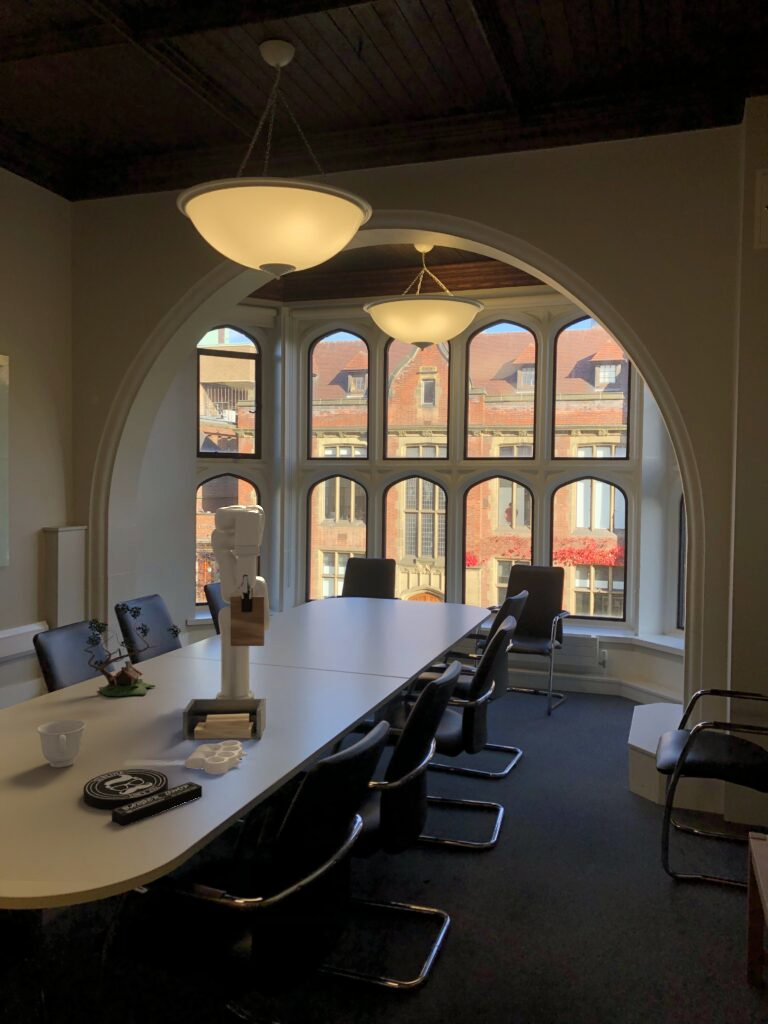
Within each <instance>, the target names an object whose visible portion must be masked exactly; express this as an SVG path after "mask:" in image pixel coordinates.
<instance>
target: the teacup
mask: <svg viewBox="0 0 768 1024" xmlns="http://www.w3.org/2000/svg"><path fill="white" fill-rule="evenodd" d="M86 726H87V724H86V723H85V722H84V721H83V720H78V719H59V720H54V721H52V720H51V721H48V722H45V723H43V724H41V725H39V726H38V727H37V728H36V732H37V733H38V734H39V737H40V746H41V751H42V754H43V757H44V759H46V760H47V761H48V762H50V764H49V765H50V766H51V767H52V768H65V767H69V766H71V765H73V764H74V763H75V762H74V760H75V758H76V757H78V755H79V754H80V751H81V748H82V739H83V734H84V729H85V727H86Z"/></svg>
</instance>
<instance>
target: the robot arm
mask: <svg viewBox="0 0 768 1024" xmlns="http://www.w3.org/2000/svg"><path fill="white" fill-rule="evenodd" d="M213 522H214V527H215V528H214V529H213V530H212V532H211V533H210V543H211V549H212V553H213V555H214V558H215V561H216V563H217V565H218V571H219V582H220V583H219V584H220V596H221V599H222V601H223V602H224V603H226V604H230V605H228V606H224V607H223V608H221V609H220V610H219V612H218V616H217V617H218V620H217V621H218V627H219V634H220V679H221V680H220V691H219V692H218V693H216V699H254V697H255V693H254V691H252V690H250V646H231V596H242V612H252V599H251V596H264V633H265V632H267V631H268V630H269V628H270V627H271V612H270V611H271V610H270V600H269V589H268V584H267V582H266V580H265V578H264V577H262V576H260V575H259V576H258V575H257V557H259V556H261V545H262V543H263V536H264V532H265V523H266V514H265V511H264V509H263V508H262V506H260V505H258V504H231V505H228V506H226V507H219V508H217V509H216V510H215V514H214V521H213ZM232 551H234V552H232Z"/></svg>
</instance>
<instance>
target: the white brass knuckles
mask: <svg viewBox="0 0 768 1024" xmlns="http://www.w3.org/2000/svg"><path fill="white" fill-rule="evenodd" d="M242 745H243V744H242V742H241V741H239V740H235V739H231V740H223V741H221V742H218V743H205V744H201V745H199V746H198V747H197V748H196V750H194V752H192V753H191V754H190V755H189V757H187V759H186V760H184V762H183V763H184V764H183V766H184V767H185V768H186V769H188V768H203V769H205V770H204V772H205V771H206V772H207V773H210V774H209V775H211V774H219V775H223V774H222V773H224V774H226V773H225V772H227V773H228V771H229V770H231V769H233V768H232V767H235V766H236V765H238V764H241V763H243V758H242V757H244V756H248V753H246V752H245V751H243V746H242ZM240 760H242V761H240ZM238 766H239V765H238ZM236 767H237V766H236ZM236 767H235V768H236ZM230 768H231V769H230ZM203 769H202V770H203ZM228 769H229V770H228ZM206 772H205V773H206ZM207 773H206V774H207ZM220 773H221V774H220Z"/></svg>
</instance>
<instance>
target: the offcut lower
mask: <svg viewBox="0 0 768 1024" xmlns="http://www.w3.org/2000/svg"><path fill="white" fill-rule="evenodd" d="M253 731H254V722H249V729H229V730H206V722H199V723H198V725H197V726H196V728H195V730H194V738H251V736H252V734H253Z"/></svg>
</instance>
